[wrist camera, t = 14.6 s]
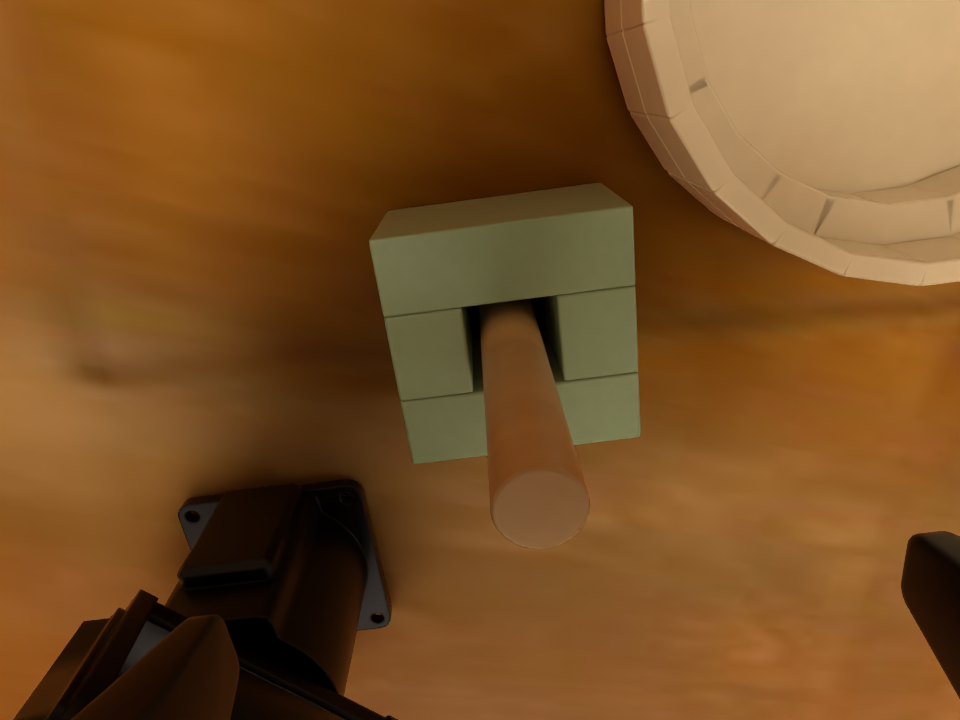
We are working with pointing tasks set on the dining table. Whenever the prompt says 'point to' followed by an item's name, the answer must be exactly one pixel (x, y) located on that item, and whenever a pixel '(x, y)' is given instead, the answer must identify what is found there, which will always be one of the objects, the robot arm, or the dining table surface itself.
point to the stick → (527, 433)
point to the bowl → (807, 122)
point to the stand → (508, 277)
